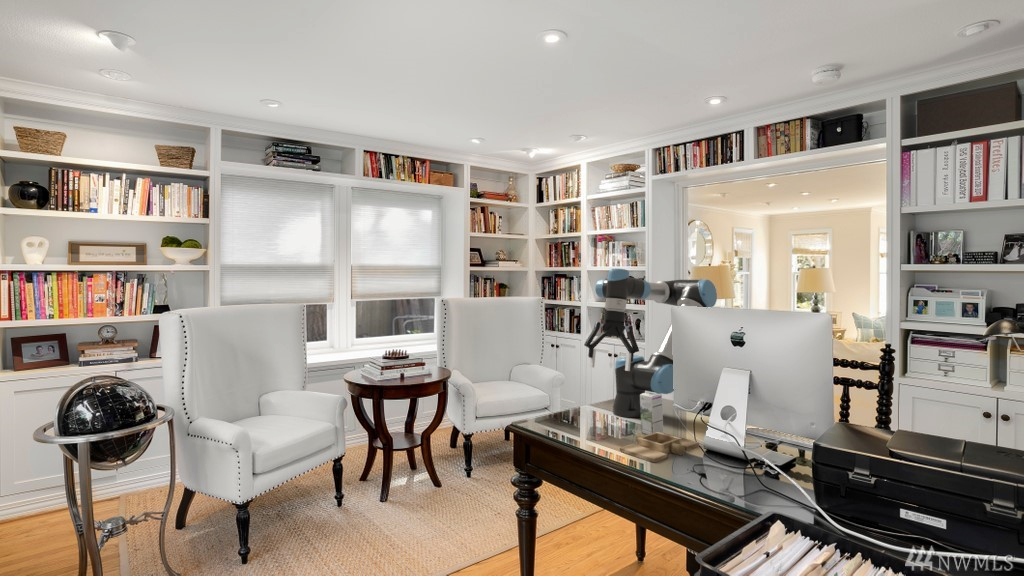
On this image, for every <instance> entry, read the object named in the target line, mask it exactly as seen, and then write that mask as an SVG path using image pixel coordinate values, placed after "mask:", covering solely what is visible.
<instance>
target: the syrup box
mask: <svg viewBox="0 0 1024 576" xmlns="http://www.w3.org/2000/svg"><path fill="white" fill-rule="evenodd" d="M640 408H641V417H640V426H641V427H640V429H641V434H644V435H648V434H652V433H655V432H660V433H665V432H664V417H663V416H664V415H663V414H664V413H663V412H664V411H663V395H662V394H658V393H654V392H649V391H645V393H642V394H640Z"/></svg>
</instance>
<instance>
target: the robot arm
mask: <svg viewBox="0 0 1024 576" xmlns="http://www.w3.org/2000/svg"><path fill="white" fill-rule="evenodd" d="M594 288H595V291H594V292H595V293H596V295H597V296H598V297H599V298H603V299H605V305H604V309H605V310H604V312H603V313H604V314H603V322H602V323H601V322H600V321H596V322H595V323H594V325H593V326H594V327H593V329H592V331H591V332H590V334H589V335H588V337H587V339H586V341H585V342H584V344H583V345H584V347H586V348H588V355H587V356H588V358H590V360H589V361H590V362H589V368H594V369H595V364H596V363H595V362H596V354H597V353H596V352H597V349H596V347H597V346H598V345H599V344H600V342H601V341H603V340H604V338H605V337H607V336H610V337H617V338H619V340H620V341H621V342H622V343H623V345H624V347H625V348H626V350H627V352H626V354H625V357H619V358H618V359H616V360H615V364H614V366H615V368H614V370H615V371H614V373H615V387H616V389H615V390H616V391H615V393H616V394H615V399H614V402H613V405H612V414H613V415H616V416H619V417H623V418H641V408H640V394H642V393H646V392H653V393H658V394H663V395H668V394H672V393H673V392H674V391H675V390H674V389H673V355H672V321H671V323H670V325H669V327H668V328H667V331H666V333H665V335H664V337H663V339H662V341H661V343H660V345H659V347H658V349H657V352H654V353H651V355H650V357H649V358H648V361H646V360H645V358H644V356H643V355H637V356H634V354H635V353H638V352H640V349H639V346H638V344H637V341H636V340H637V339H636V337H635V334H634V332H633V325H625V321H626V313H625V311H626V309H627V300H641V301H654V302H655V303H658V304H665V305H668V306H669V305H670V306H675V307H676V306H677V307H678V306H697V307H707V308H708V307H711V308H712V307H715V305H716V303H717V300H718V294H717V292H718V291H717V288H716V285H715V284H714V283H713V281H711V280H710V279H704V278H703V279H702V278H699V279H674V280H667V281H666V280H662V281H661V280H658V281H656V282H649V281H647V280H644V279H643V278H635V277H631V276H630V271H629V270H627V269H625V268H611V269H609V270H608V275H607V278H604V279H599V280H598V281H597V282H596V283H595V287H594ZM601 328H602V329H603V331H602V332H600V334H599V335H598V336H597V337H596V335H597V334H598V332H599V331H600V329H601ZM624 331H625V332H626V333H627V337H628V338H626V335H625V333H624ZM595 337H596V338H595ZM594 338H595V339H594ZM628 340H629V341H628ZM594 348H595V349H594Z"/></svg>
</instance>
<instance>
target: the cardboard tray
mask: <svg viewBox="0 0 1024 576" xmlns="http://www.w3.org/2000/svg"><path fill="white" fill-rule="evenodd" d="M635 442H636V443H637V444H636V443H631V444H628V445H624V446H621V447H619V452H620V451H621V453H623V452H624V453H623V454H626V453H627V454H626V455H629V454H630V456H632V455H633V456H632V457H635V456H636V458H638V457H639V458H638V459H641V458H642V459H641V460H644V459H645V460H644V461H647V460H648V461H647V462H650V461H651V463H653V462H655V463H656V462H660V461H663V460H666V459H667V458H668V455H670V454H674V455H678V456H681V457H682V456H683V455H685V452H686V451H689V450H692V449H694V448H698V447H699V446H700V442H699V441H696V440H691V439H687V438H683V437H681V436H677V435H672V434H670V433H666V432H664V433H660V432H655V433H652V434H648V435H646V434H643V433H642V432H641V433H637V434H636V435H635Z"/></svg>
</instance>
